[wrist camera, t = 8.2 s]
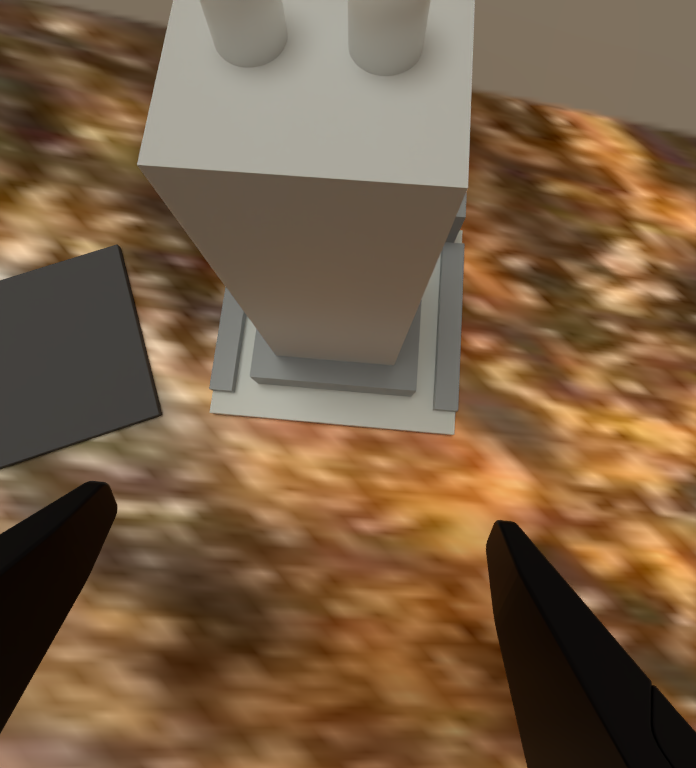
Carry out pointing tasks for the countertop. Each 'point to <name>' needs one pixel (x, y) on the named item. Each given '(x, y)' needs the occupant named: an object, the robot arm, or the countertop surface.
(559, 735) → the robot arm
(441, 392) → the port
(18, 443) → the pad
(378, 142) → the plug
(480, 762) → the countertop surface
